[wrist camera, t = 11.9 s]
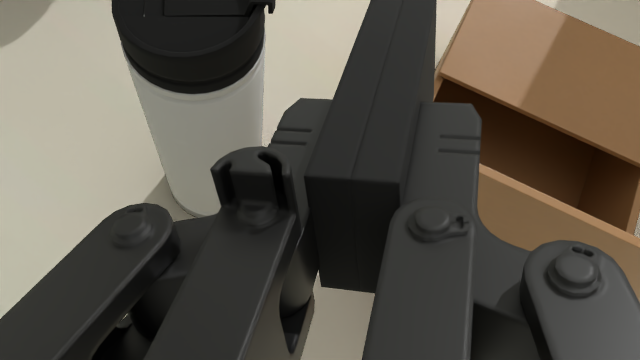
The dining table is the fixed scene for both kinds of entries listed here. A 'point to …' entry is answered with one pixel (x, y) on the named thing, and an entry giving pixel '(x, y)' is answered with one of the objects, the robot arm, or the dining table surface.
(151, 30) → the travel mug
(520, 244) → the flap
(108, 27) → the dining table surface
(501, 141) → the carton
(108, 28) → the dining table surface
